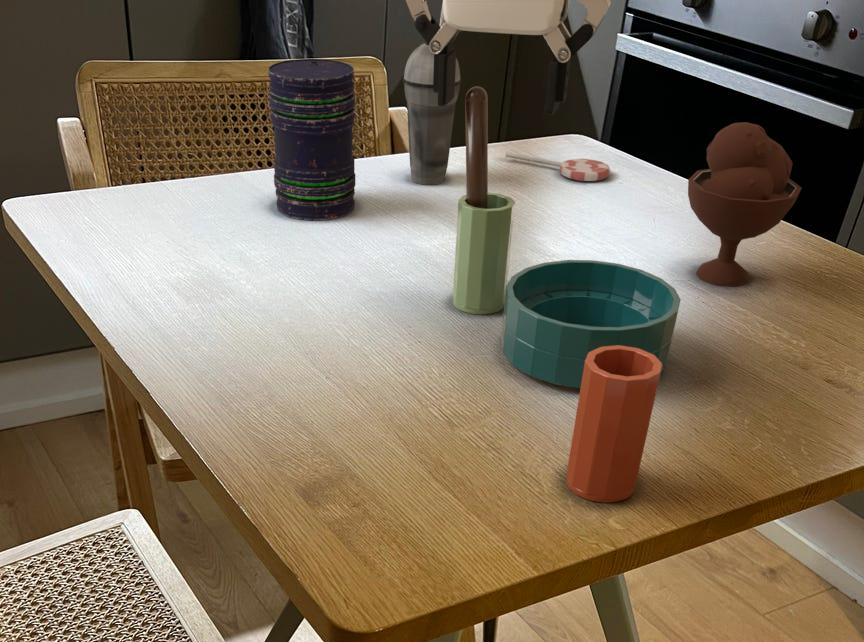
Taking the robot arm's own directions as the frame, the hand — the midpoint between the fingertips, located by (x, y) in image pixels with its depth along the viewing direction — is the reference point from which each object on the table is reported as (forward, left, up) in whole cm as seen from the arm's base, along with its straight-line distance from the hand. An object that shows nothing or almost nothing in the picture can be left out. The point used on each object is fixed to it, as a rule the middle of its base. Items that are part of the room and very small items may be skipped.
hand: (498, 106), depth 86 cm
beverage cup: (+16, -36, -18) cm, 44 cm away
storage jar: (+26, -21, -18) cm, 38 cm away
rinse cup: (0, 0, -18) cm, 18 cm away
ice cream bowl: (-23, -16, -18) cm, 33 cm away
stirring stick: (0, 0, -18) cm, 18 cm away
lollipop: (+1, -46, -18) cm, 50 cm away
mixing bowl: (-12, +8, -18) cm, 23 cm away
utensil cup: (-17, +29, -18) cm, 38 cm away
